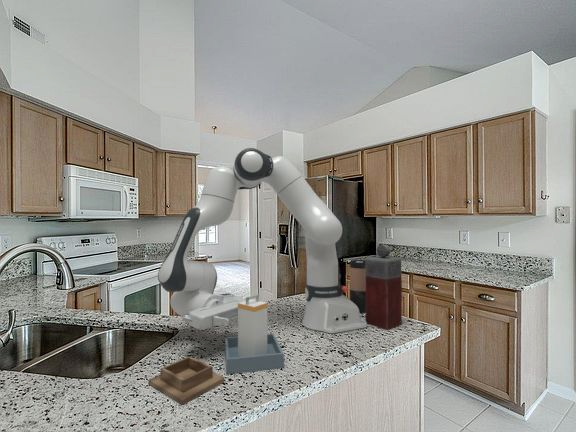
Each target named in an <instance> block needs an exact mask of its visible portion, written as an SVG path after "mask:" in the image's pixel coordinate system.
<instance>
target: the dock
mask: <svg viewBox="0 0 576 432" xmlns="http://www.w3.org/2000/svg"><path fill="white" fill-rule="evenodd" d="M213 368H214V366H212V365H210V364H208V363H206V362H203V361H201V360H199V359H197V358H195V357H192V356H187V357H185V358H183V359H180V360H178V361H176V362H173V363H171V364H168V365H166V366H164V367H161V368H160V374H158V375H155V376H154V377H152V378H149V379H148V380H147V381H148V385H149V386H151V387H152V388H154V389H155V390H157V391H159V392H160V393H162V394H164V395H165V396H166V397H168V398H170V399H172V400H173V401H175V402H176V403H178V404H180V405H182V406H183V405H185V404H188V403H189V402H190V401H193V400H194V399H196V398H198V397H200V396H202V395H204V394H206V393H207V392H209V391H211V390H213V389H215V388H216V387H218V386H220V385H221V384H224V383H225V382H226V381H225V377H224V376H223V375H220V374H218V373H216V372H214V371H213V370H214V369H213Z"/></svg>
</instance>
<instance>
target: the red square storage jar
mask: <svg viewBox="0 0 576 432" xmlns="http://www.w3.org/2000/svg"><path fill="white" fill-rule="evenodd" d="M376 253H377V256H370V257H367V258H365V260H366V313H365V321H366V322H367V325H370V326H373V327H376V328H379V329H382V330H385V331H389V330H392V329H394V328H397V327H399V326H401V325H402V316H403V315H402V309H403V308H402V302H403V299H402V297H403V294H402V293H403V291H402V290H403V288H402V287H403V286H402V285H403V284H402V283H403V280H402V259H401V258H400V257H393V256H389V255H390V254H391V248H390V246H389V245H387V244H380V245H378V246H377V247H376Z"/></svg>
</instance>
